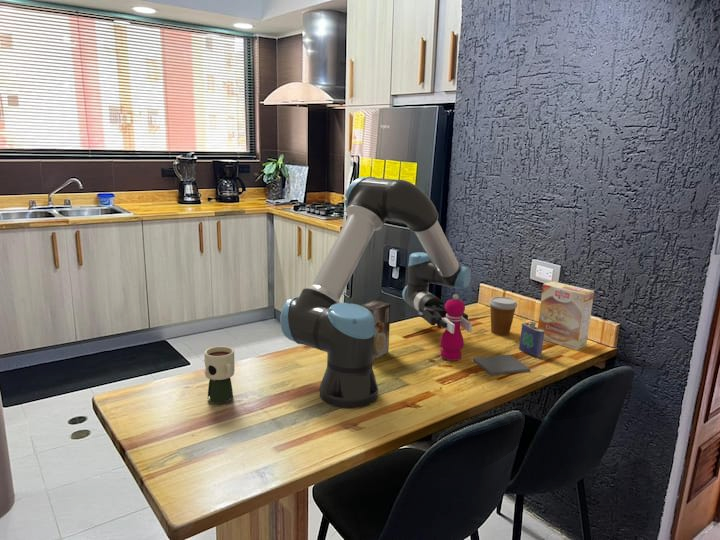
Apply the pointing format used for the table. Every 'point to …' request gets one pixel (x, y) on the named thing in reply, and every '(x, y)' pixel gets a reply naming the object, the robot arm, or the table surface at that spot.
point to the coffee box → (380, 326)
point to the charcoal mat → (500, 364)
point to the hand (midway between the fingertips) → (461, 328)
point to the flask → (531, 339)
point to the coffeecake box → (565, 314)
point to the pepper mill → (454, 340)
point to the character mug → (219, 373)
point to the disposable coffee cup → (502, 314)
